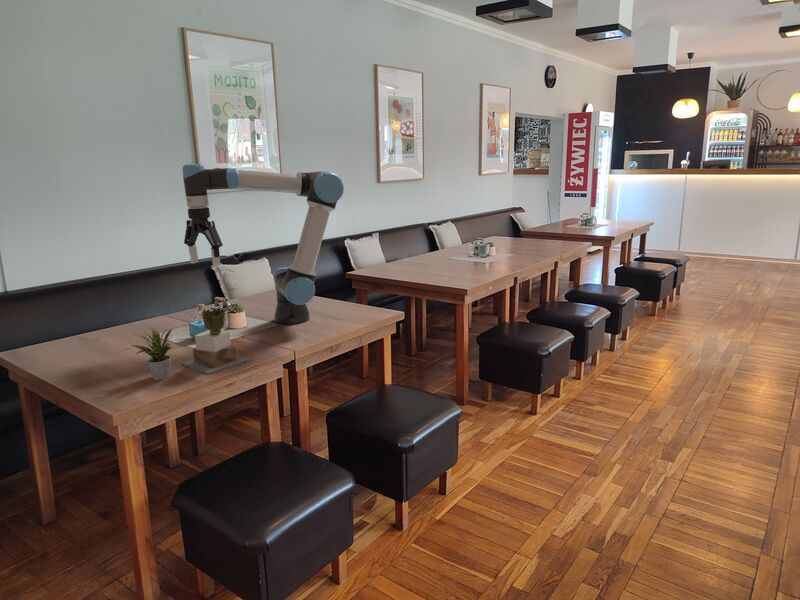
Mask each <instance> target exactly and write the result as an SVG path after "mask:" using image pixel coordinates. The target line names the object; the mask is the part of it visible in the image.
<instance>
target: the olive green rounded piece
mask: <svg viewBox="0 0 800 600" xmlns="http://www.w3.org/2000/svg"><path fill="white" fill-rule="evenodd" d="M225 313H226V311H225V309H223V308H222V309H221V308H217V309H216V308H213V309H212V310H211V311H210V309H207V310H203V311H202V312H201V315H202V316H201V317H202V320H203V321H204V325H205V327H206V328H207V329H208V330H210V334H211V335H218V334H220V333H221V330H223V328H224V325H225V320H226V317H225V316H226V315H225Z"/></svg>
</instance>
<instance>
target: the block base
mask: <svg viewBox="0 0 800 600" xmlns="http://www.w3.org/2000/svg"><path fill="white" fill-rule="evenodd" d="M192 353H193V359H194V362H195V363H198V364H200V365H203V366H206V367H208V368H214V367H217V366H220V365H223V364H226V363H229V362H232V361H235V360H237V359H236V355H237V351H236V345H233V344H231V345H230V346H228V347H226V348H224V349H221V350H219V351H217V352H209V351H203V350H197V349H196V347H194V348H192Z"/></svg>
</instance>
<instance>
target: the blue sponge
mask: <svg viewBox="0 0 800 600" xmlns="http://www.w3.org/2000/svg"><path fill="white" fill-rule="evenodd" d="M188 329H189V331H188V332H189V336H190V338H193V340H195V335H197V334H200V333H203V332H205V331H208V329H207V328H206V327H205V325H204V321H203V319H198V320H194V319H193V318H192V319H190V322H188Z"/></svg>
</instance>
